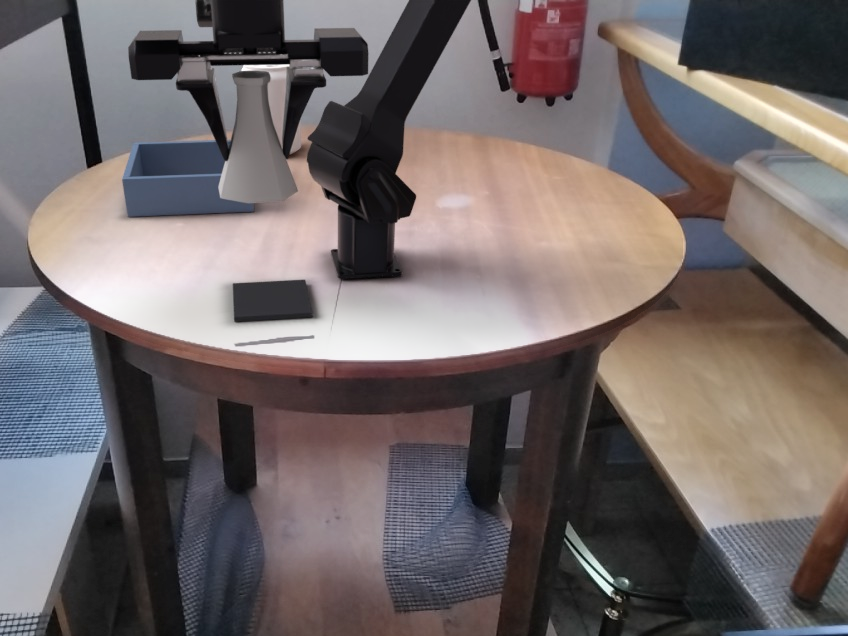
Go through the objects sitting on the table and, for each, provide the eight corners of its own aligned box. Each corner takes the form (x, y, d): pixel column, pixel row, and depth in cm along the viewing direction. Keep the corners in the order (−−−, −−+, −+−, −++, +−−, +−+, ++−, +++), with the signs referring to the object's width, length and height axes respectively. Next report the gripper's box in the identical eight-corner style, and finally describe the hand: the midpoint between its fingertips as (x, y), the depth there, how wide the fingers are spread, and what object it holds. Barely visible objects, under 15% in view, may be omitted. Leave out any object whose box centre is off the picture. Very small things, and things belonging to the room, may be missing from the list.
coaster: (312, 317, 71) (312, 312, 71) (234, 322, 70) (233, 317, 70) (305, 283, 77) (305, 279, 77) (233, 287, 76) (232, 283, 76)
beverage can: (236, 156, 112) (229, 66, 105) (258, 140, 118) (253, 55, 112) (289, 161, 110) (286, 70, 103) (309, 145, 116) (307, 59, 110)
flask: (305, 180, 73) (302, 66, 67) (290, 208, 67) (286, 85, 61) (228, 177, 74) (219, 63, 68) (207, 204, 68) (195, 82, 62)
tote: (254, 211, 93) (251, 174, 91) (127, 217, 91) (121, 179, 89) (249, 172, 105) (247, 138, 103) (138, 176, 104) (133, 142, 101)
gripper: (352, -54, 68) (351, 130, 76) (130, -53, 66) (154, 136, 74) (371, -42, 59) (367, 166, 67) (114, -41, 57) (143, 173, 65)
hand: (256, 158), depth 69 cm, fingers closed on flask, 5 cm apart
